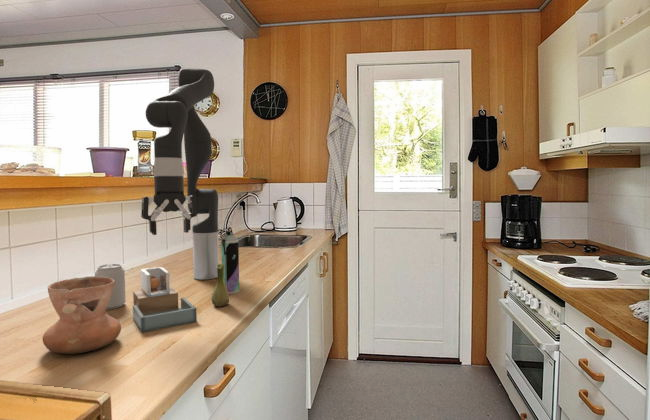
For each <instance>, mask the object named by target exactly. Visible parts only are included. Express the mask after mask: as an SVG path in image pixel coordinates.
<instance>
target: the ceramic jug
mask: <svg viewBox="0 0 650 420" xmlns="http://www.w3.org/2000/svg"><path fill="white" fill-rule="evenodd" d="M114 282H115V281H114V280H113V279H111V278H107V277H96V276H95V275H94V276H92V275H91V276H84V277H83V276H81V277H73V278H70V279H69V278H68V279H67V278H66V279H63V280H59V281H56V282H53V283H50V284H49V285H48V286H47V293H48V297H49V299H50V302H51V304H52V306H53V308H54V310H55V312H56V314H57V315H58V317H59V319H58V320H57V321H56V322H55V323H53V324H52V325H50V326H49V327H48V328H47V329H46V330H45V332H44V333H43V336H42V343H43V345H44V346H45V348H46V349H47V350H48V351H51V352H52V353H55V354H62V355H76V354H83V353H88V352H92V351H95V350H99V349H101V348H103V347H105V346H108V345H110V344H111V343H112V342H114V341H115V340H117V338H118V337H119V335H120V333H121V331H122V325H121V323H120V321H119V320H118V319H116V318H114V317H112V316H110V315H109V314H107V313H106V308H107V306H108V303H109V301H110V298H111V295H112V292H113V288H114Z"/></svg>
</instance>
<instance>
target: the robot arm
mask: <svg viewBox="0 0 650 420" xmlns="http://www.w3.org/2000/svg"><path fill="white" fill-rule="evenodd" d="M177 79H178V80H177V81H178V82H177V84H178V87H176V88H174V89H173V90H171V91H170V92H169V93H168V94H167V95H164V96H161V97H158V98H156V99H153V100H151V101H150V102H149V103H148V105H147V106H146V109H145V118H146V121H147V122H148V123H149V125H150V126H152V127H155V128H165V129H166V128H169V129H170V131H169V132H168V133H167V134H164V135H159V136H156V137H155V139H154V143H153V145H154V147H153V149H154V150H153V151H154V160H153V161H154V162H153V163H154V164H153V172H154V173H153V180H154V183H153V185H154V194H153V197H152V196H145V195H144V196H142V198H141V211H140V212H141V215H140V217H141V218H142V219H144V220H147V221H148V222H149V224H148V225H149V226H148V227H149V232H150V234H151V235H153V236H157V231H158V230H157V229H158V228H157V221H156V220H157V218H158V216H160V214H162V212H164V213H169V212H179V214H181V216H182V217H183V218H184V219H183V233H189V231H191V230H192V231H191V232H192V259H193V260H192V261H193V263H192V266H193V279H195V280H200V281H201V280H204V281H206V280H212V279H216V278H217V279H218V274H217V267H218V264H220V260H219V259H220V258H219V256H220V255H219V251H220V249H219V218H218V216H219V194H218V191H217V189H214V188H197V185H198V180H199V178H200V177H201V174H202V172H203V171H204V169H205V167H206V166H207V164H208V163H209V161H210V160H211V156H212V153H213V148H212V137H211V133H210V130H209V129H208V128H207V126H206V125H205V123H204V122H203V121H202V118H201V117H200V116H199V114H198V112H197V111H196V107H195V105H197V104H198V103H200V102H201V101H204V100H205V99H207V98H210V97H211V96H212V95H213V93H214V89H215V80H214V79H215V78H214V75H213V73H212V72H211V71H210V70H208V69H203V68H189V67H188V68H186V67H184V68H181V69H179V71H178V78H177ZM183 143H184V144H183ZM182 144H183V145H184V154H185V165H186V184H187V185H186V196H185V188H184V187H185V186H184V173H185V172H184V164H183V150H182V147H183V145H182ZM152 202H153V203H154V204H155V205H156V206H155V208H154V209H153V211H152V212H151V214H150V215H149V205H151V204H152ZM185 202H186V203H187V209H188V211H187V209H186V207H185V206H184V203H185ZM198 214H199V215H201V214H202V215H203V214H208V217H207V218H205V219H204V220H202V221H200V222H196V223H194V224H193V225H192V227H191V219H193V218H195V217H197V216H198ZM191 228H192V229H191Z"/></svg>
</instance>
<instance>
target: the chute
mask: <svg viewBox="0 0 650 420" xmlns="http://www.w3.org/2000/svg"><path fill="white" fill-rule="evenodd" d="M152 278H157V279H158V280H159V281H160V285H159V287H158V288H156V289H151V283H150V279H152ZM140 284H141V290H142V291H143V292H144V293H145V295H146V296H147V297H153V296H160V295H167V294H170V287H169V286H170V272H169V271H168V270H166V269H165V268H164V267H162V266H158V267H150V268H149V267H148V268H147V267H146V268H141V269H140Z"/></svg>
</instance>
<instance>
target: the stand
mask: <svg viewBox="0 0 650 420" xmlns="http://www.w3.org/2000/svg"><path fill="white" fill-rule="evenodd" d="M169 287H170V294H167V295H160V296H153V297H147V296H146V295H145V293H144V292H143V291H142V289H138V290H132V291H133V292H132V296H133V298H132V299H133V305H137V307H138V308H139V310H140V311H141V313H142V314H149V313H154V312H160V311H166V310H172V309H177V308H179V293H178V291H177V290H176V289H174V288H173V287H172V286H171V285H169Z"/></svg>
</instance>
